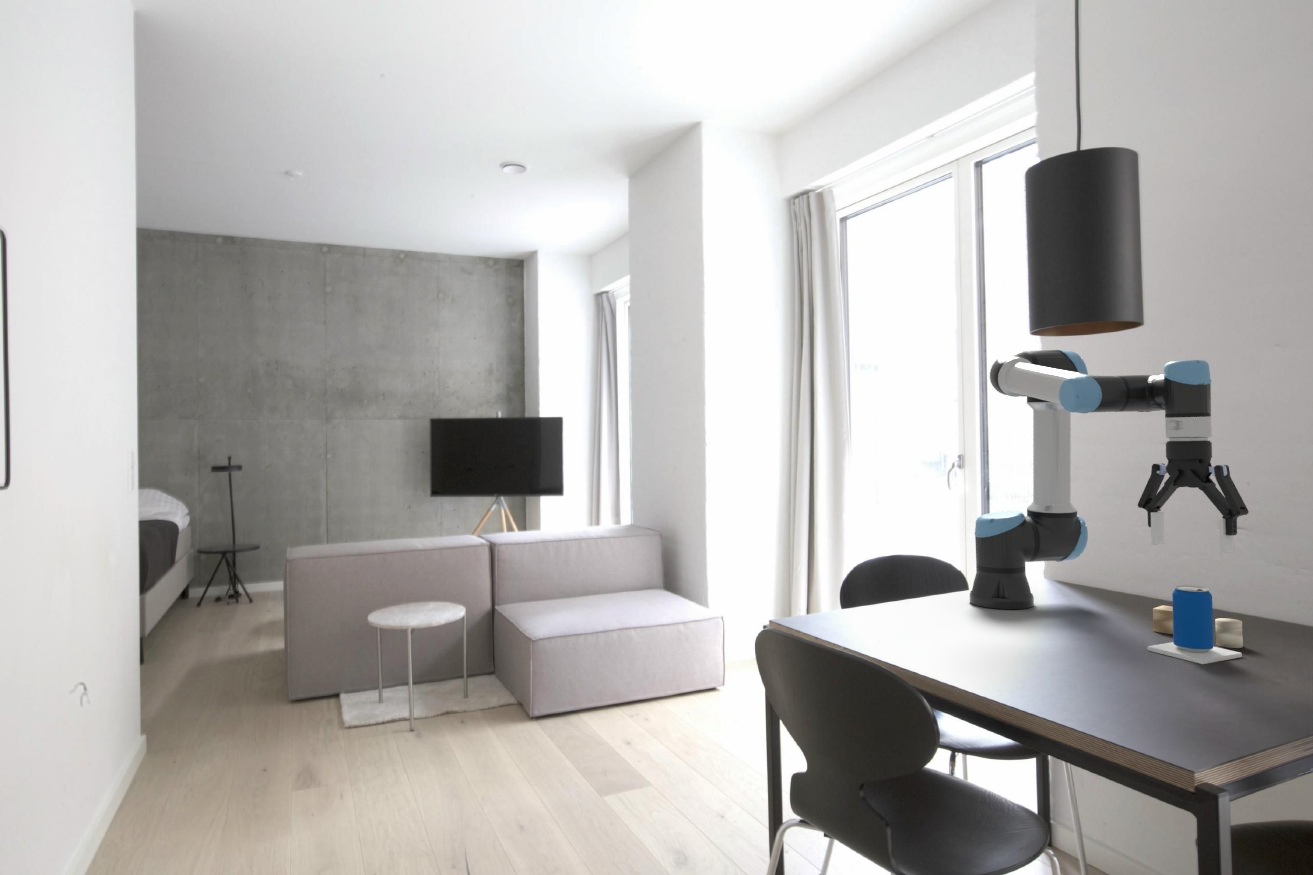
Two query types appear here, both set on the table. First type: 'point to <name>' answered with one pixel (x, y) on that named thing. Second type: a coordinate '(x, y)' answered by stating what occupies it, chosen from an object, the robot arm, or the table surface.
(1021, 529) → the robot arm
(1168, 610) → the oak cube
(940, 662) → the table surface
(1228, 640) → the birch cylinder
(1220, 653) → the pad
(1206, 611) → the beverage can
